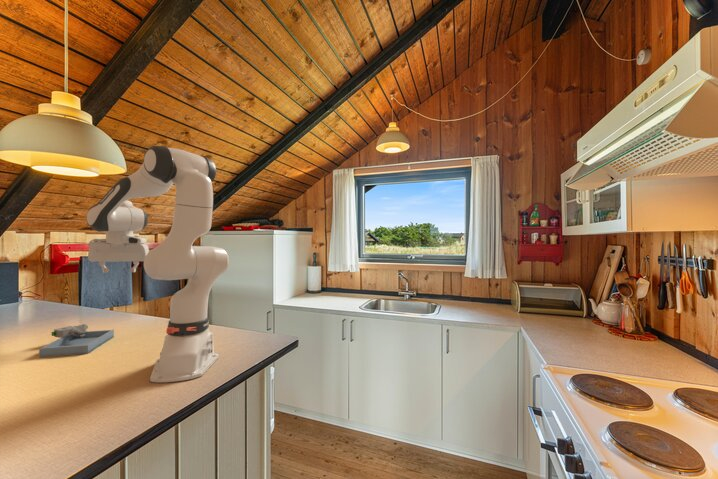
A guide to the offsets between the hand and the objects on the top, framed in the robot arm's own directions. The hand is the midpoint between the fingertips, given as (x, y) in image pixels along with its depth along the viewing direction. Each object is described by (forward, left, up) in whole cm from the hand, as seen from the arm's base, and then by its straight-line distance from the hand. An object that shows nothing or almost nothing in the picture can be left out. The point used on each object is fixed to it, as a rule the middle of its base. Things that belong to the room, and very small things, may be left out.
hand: (119, 272), depth 122 cm
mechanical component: (-9, +7, -22) cm, 25 cm away
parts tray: (-10, +8, -27) cm, 29 cm away
